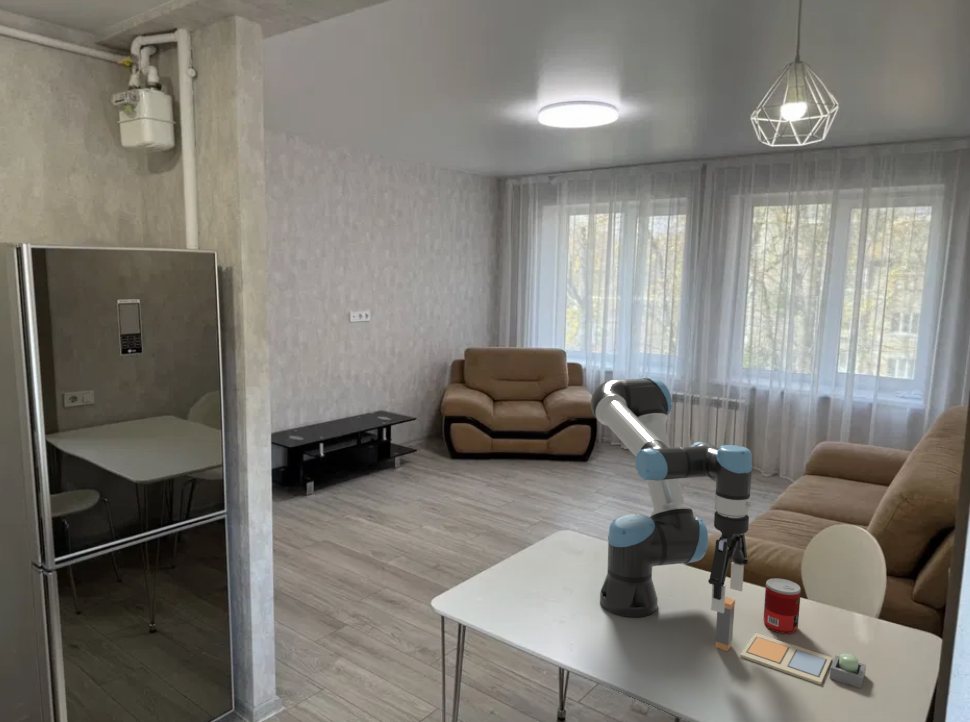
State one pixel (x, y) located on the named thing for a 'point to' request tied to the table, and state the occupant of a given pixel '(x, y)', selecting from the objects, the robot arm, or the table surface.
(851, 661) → the button
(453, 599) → the table surface
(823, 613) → the table surface
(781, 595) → the canned food
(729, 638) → the marker
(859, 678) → the button collar
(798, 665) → the sheet
